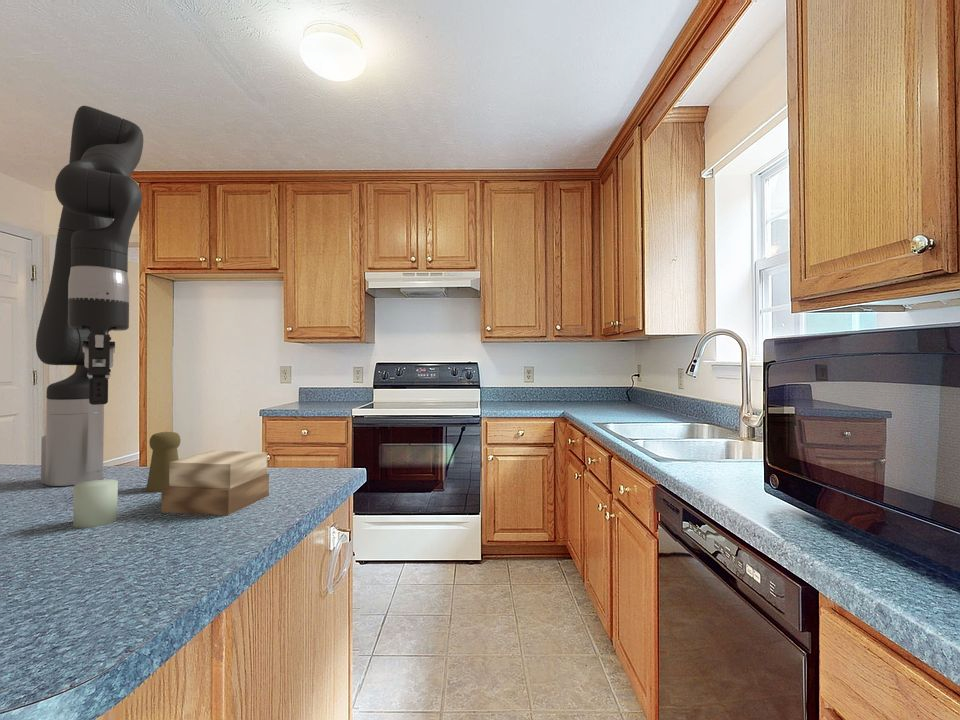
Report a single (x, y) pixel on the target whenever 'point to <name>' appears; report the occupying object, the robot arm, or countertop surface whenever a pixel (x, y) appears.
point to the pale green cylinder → (95, 503)
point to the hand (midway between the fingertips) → (98, 402)
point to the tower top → (217, 469)
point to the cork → (162, 459)
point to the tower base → (214, 497)
